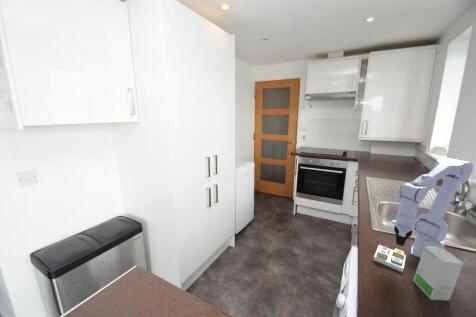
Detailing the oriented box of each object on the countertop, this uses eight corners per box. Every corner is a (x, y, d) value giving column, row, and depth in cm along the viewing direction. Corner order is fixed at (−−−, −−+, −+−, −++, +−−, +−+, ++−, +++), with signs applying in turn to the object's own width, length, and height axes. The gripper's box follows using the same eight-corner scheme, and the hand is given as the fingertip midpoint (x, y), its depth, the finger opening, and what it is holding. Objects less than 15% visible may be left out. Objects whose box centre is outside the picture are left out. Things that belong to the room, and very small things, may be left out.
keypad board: (405, 259, 91) (406, 255, 91) (402, 272, 83) (403, 268, 83) (378, 248, 98) (378, 244, 97) (373, 260, 90) (374, 256, 89)
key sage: (387, 256, 90) (388, 251, 89) (386, 259, 87) (387, 255, 87) (378, 252, 92) (379, 248, 91) (377, 256, 90) (378, 251, 89)
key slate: (401, 264, 87) (402, 259, 86) (400, 268, 84) (401, 263, 84) (391, 260, 89) (393, 255, 88) (390, 264, 87) (391, 259, 86)
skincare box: (412, 281, 79) (422, 244, 76) (430, 282, 79) (441, 245, 75) (431, 300, 71) (443, 261, 67) (451, 302, 71) (464, 262, 67)
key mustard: (403, 255, 90) (404, 251, 90) (402, 259, 88) (403, 254, 87) (394, 252, 92) (395, 247, 92) (393, 256, 90) (394, 251, 89)
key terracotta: (388, 252, 94) (389, 248, 93) (387, 256, 91) (388, 251, 91) (380, 249, 96) (381, 245, 95) (378, 252, 93) (379, 248, 93)
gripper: (396, 204, 90) (390, 233, 93) (392, 217, 80) (385, 248, 83) (417, 210, 86) (410, 239, 89) (416, 224, 75) (407, 256, 78)
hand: (399, 244), depth 86 cm, fingers closed
